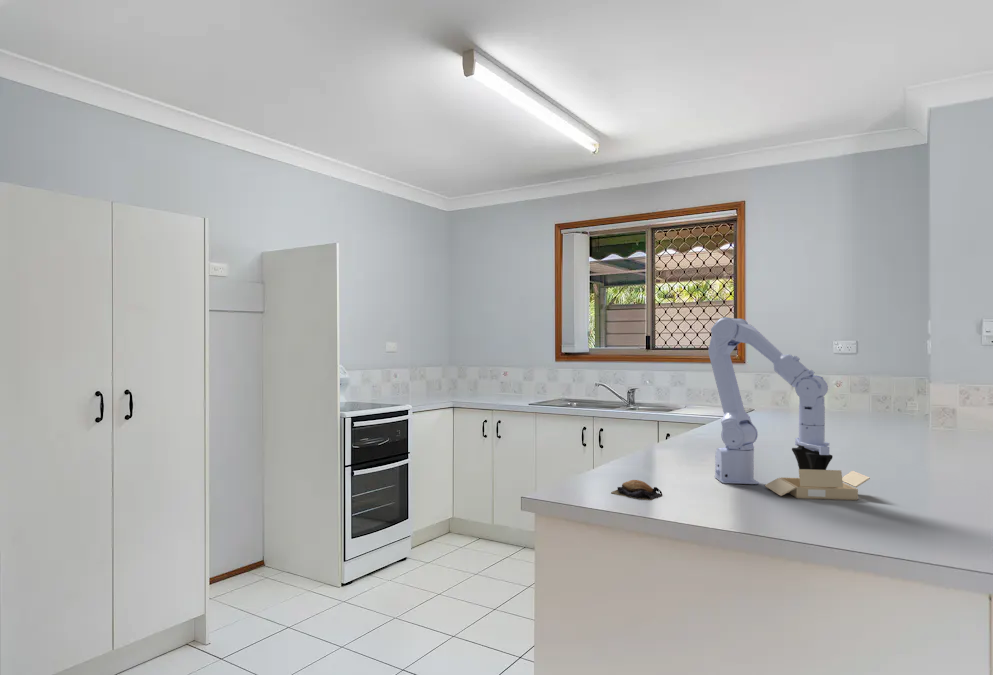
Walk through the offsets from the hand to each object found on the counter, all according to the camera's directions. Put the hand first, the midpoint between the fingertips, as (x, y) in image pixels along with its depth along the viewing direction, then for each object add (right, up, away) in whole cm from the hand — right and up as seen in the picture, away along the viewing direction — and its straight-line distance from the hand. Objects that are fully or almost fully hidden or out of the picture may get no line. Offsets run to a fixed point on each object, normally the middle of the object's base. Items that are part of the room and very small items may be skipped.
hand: (811, 479), depth 152 cm
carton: (-1, -4, +2) cm, 4 cm away
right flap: (+10, 0, -1) cm, 10 cm away
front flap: (0, +1, -5) cm, 5 cm away
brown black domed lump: (-44, -4, -3) cm, 44 cm away
